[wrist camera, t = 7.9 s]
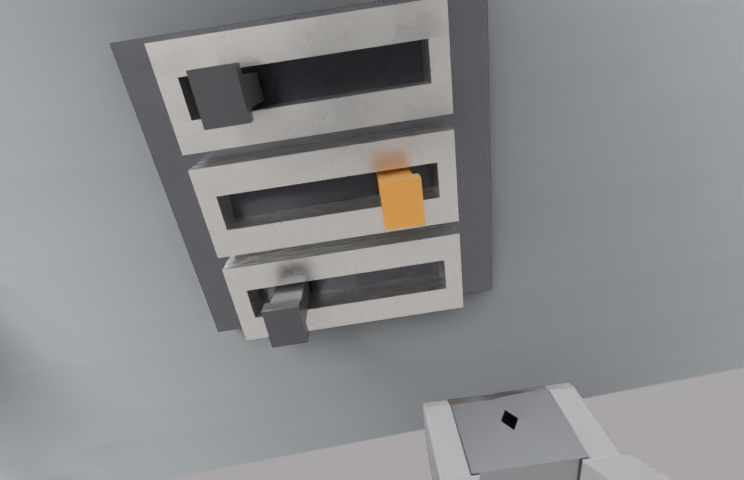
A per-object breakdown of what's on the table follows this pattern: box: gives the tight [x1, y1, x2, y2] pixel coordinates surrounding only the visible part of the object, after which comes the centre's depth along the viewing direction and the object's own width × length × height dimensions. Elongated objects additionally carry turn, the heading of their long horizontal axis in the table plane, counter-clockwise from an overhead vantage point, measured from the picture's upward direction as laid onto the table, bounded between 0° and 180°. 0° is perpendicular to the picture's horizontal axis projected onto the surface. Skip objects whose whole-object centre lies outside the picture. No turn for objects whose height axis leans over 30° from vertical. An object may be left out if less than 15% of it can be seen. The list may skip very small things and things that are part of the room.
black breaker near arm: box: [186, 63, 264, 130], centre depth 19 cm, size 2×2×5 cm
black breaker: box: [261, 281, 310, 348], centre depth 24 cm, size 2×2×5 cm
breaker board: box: [110, 0, 492, 341], centre depth 24 cm, size 19×18×4 cm
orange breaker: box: [376, 167, 425, 231], centre depth 22 cm, size 2×2×5 cm
